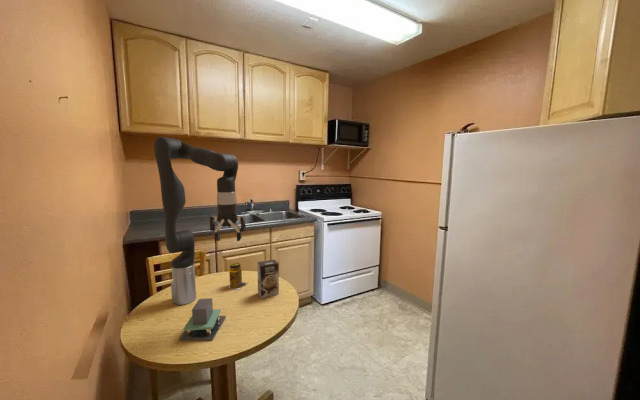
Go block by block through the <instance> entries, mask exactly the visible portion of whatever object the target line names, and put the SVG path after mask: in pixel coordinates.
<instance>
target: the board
mask: <svg viewBox="0 0 640 400" xmlns="http://www.w3.org/2000/svg"><path fill="white" fill-rule="evenodd" d="M213 307H214V306H213V298H212V297H211V298H210V297H209V298H208V297H207V298H199V299H198V300H197V301H196V303H195V305H194V306H193V308H192V310H191V314H192V315H191V316H190V318H189V320H188V321H187V322H186V324H185V326H184V328H183V332H184V331H187V330H202V329H213V327H214V325H215V322H216V320H217V318H218V316H220V313H221V311H222V310H221V308H218V309H214V308H213Z"/></svg>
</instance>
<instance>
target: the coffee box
mask: <svg viewBox="0 0 640 400" xmlns="http://www.w3.org/2000/svg"><path fill="white" fill-rule="evenodd" d="M279 269H280V268H279V262H278V261H277V260H276V259H268V260H264V261H257V294H258V295H259V298H261V299H264V298H269V297H273V296H277V295H279V294H280V287H279V286H280V282H279V281H280V279H279V275H280V273H279V272H280V271H279Z"/></svg>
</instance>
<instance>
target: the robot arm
mask: <svg viewBox="0 0 640 400" xmlns="http://www.w3.org/2000/svg"><path fill="white" fill-rule="evenodd" d="M153 152H154V157H155V161H156V166H157V171H158V175H159V182H160V194H161V202H162V209H163V216H164V233H165V234H164V235H165V239H164V240H165V246H166V249H167V251H168V253H169V254H177V253H180V254H179V255H178V256H176V257H174V258H173V259H172V260H171V271H172V272H171V274H172V275H171V276H172V282H171V283H170V289H171V301H172V302H171V303H172V304H175V305H178V306H179V305H180V306H181V305H184V306H185V305H187V304H190V303H193V302H194V301H196V299H197V290H196V289H197V288H196V272H195V271H196V270H195V259H196V258H195V236H194V233H193V232H192V230H190V229H183V230H179V231H177V223H178V222H177V221H178V219H179V217H180V215H181V212H182V211H183V209H184V207H185V205H186V191H185V187H184V184H183V182H182V181H181V180H180V178H179V177H178V175H177V174H176V172H175V171H174V169H173V166H172V161H171V159H172V160H176V159H180V160H181V159H183V160H184V159H185V160H190V161H191V162H193V163H194V164H197V165H201V166H203V167H208V168H209V169H211V170H214V171H216V172H223V175H221V176H220V177H218V178H217V180H216V189H217V190H216V192H217V193H216V205H217V207H216V208H217V216H215V215H212V216H210V217H209V231H210V232H214V239H215V240H216V241H217V242H220V240H221V231H220V230H221V228H222V227H223V228H227V227H228V228H233V229H234V230H235V231H236V242H240V241H241V240H242V232H244V231H245V230H246V229H247V228H246V218H245V216H244V215H242V216H238V211H237V210H238V208H237V202H238V201H237V194H236V179H237V174H238V169H239V161H238V158H237V157H236V156H235V155H234V154H232V153H221V152H216V151H214V150H212V149H207V148H203V147H199V146H194V145H192V144H191V145H190V144H189V143H187V142H184V141H182V140H180V139H178V138H173V137H166V136H158V137H156V138H155V140H154V144H153ZM216 221H218V224H217V226H216ZM237 221H239V222H240V225H239V224H238V222H237Z"/></svg>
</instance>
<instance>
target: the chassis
mask: <svg viewBox="0 0 640 400" xmlns="http://www.w3.org/2000/svg"><path fill="white" fill-rule="evenodd" d="M226 318H227V316H226V315H219V316H218V318H217V320H216V322H215V325H214V327H213V329H202V330H187V331H184V330H183V333H182V334H181V335H180V337H179V341H214V339H215V338H216V335H217V334H218V332H219V330H220V329H221V327H222V325H223V324H224V322H225V320H226Z"/></svg>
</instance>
